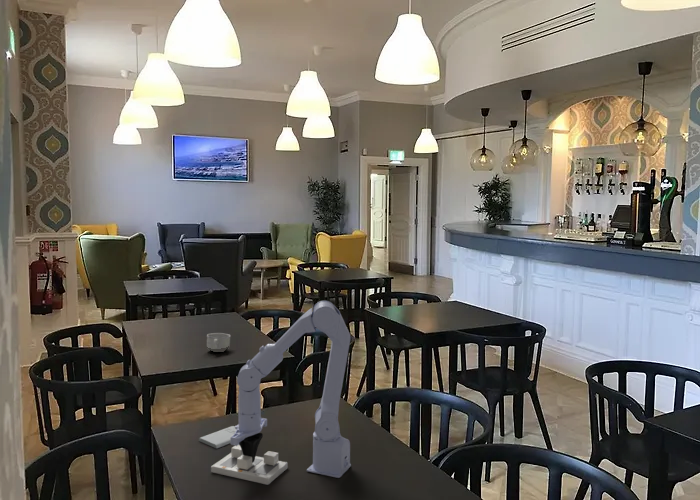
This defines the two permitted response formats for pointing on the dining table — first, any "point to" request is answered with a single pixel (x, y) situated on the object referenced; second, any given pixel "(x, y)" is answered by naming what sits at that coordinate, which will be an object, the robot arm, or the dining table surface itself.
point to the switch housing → (250, 469)
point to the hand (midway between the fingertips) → (249, 461)
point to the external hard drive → (219, 437)
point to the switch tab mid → (244, 462)
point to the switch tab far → (236, 451)
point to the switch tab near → (271, 458)
